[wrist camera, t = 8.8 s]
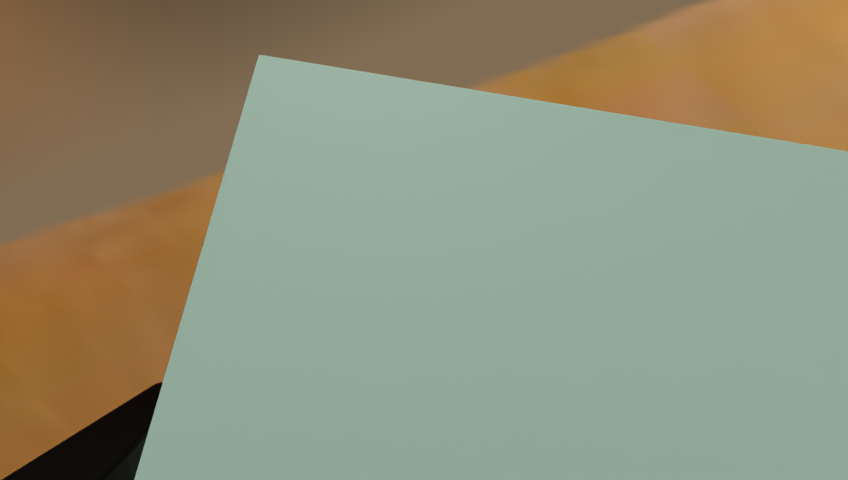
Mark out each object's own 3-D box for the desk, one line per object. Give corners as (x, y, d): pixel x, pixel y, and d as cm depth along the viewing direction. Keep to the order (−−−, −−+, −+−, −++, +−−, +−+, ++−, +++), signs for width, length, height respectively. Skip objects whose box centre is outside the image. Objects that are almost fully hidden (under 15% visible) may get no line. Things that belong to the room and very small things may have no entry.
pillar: (562, 552, 15) (1049, 1240, 3) (361, 507, 16) (5, 919, 3) (591, 347, 17) (1028, 180, 4) (403, 310, 17) (259, 53, 4)
